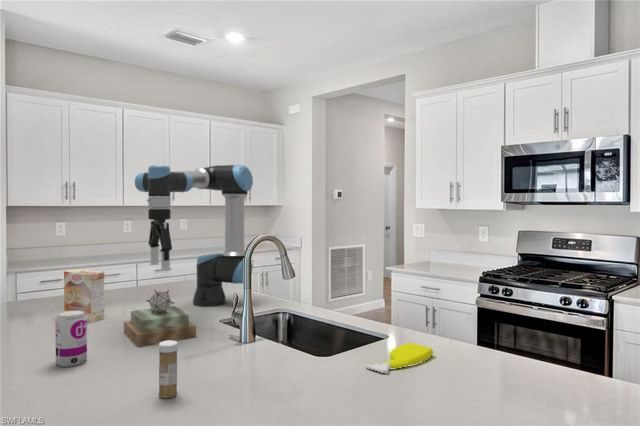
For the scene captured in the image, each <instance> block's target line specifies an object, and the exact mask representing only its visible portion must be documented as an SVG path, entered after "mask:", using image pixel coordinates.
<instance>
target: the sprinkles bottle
mask: <svg viewBox="0 0 640 426" xmlns="http://www.w3.org/2000/svg"><path fill="white" fill-rule="evenodd" d="M178 349H179V346H178V341H177V340H176V341H173V340H167V341H163V342H160V343H158V352H159V365H158V368H159V369H158V387H159V388H158V390H159V391H158V397H160V398H161V399H170V398H174V397H175V396H177V394H178V390H177V389H178V383H177V382H178Z"/></svg>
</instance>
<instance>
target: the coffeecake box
mask: <svg viewBox="0 0 640 426" xmlns="http://www.w3.org/2000/svg"><path fill="white" fill-rule="evenodd" d="M63 286H64V287H63V288H64V289H63V291H64V293H63V296H64V297H63V303H64V308H63V309H64V311H71V310H82V311H84V313H85V315H86V316H87V323H94V321H95V322H97V321H100V320H103V319H105V271H103V270H102V271H99V270H91V269H81V268H80V269H79V268H75V269H71V270H70V269H68V270H64V271H63ZM64 311H63V312H64Z"/></svg>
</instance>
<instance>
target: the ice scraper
mask: <svg viewBox="0 0 640 426" xmlns="http://www.w3.org/2000/svg"><path fill="white" fill-rule="evenodd" d="M432 355H433V356H434V350H433V349H432V347H429V346H425V345H420V344H418V343H413V342H408V343H405V344H401V345H400V346H399V345H398V346H396V347H395V348H393V349H392V350H391V351H390V352H389V357H390V360H388V361H385V362H384V363H381V364H378V363H379V362H378V361H377V362H375V364H365V366H364V367H366V368H365V369H367V368H368V370H369V369H371V370H370V371H372V370H375V371H378V372H377V373H379V372H383V373H388V374H389V371H390V370H389V369H390V368H399V367H404V366H408V365H412V364H416V363H419V362H421V361H424V360H426V359H428V358H429V357H431V356H432ZM433 356H432V357H433ZM432 357H431V358H432ZM428 360H429V359H428ZM388 370H389V371H388ZM375 371H374V372H375Z"/></svg>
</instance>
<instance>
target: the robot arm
mask: <svg viewBox="0 0 640 426" xmlns="http://www.w3.org/2000/svg"><path fill="white" fill-rule="evenodd" d="M147 169H148V171H147V172H146V171H145V172H140V173H138V174H137V175H136V176H135V178H134V185H135V188H136V190H138V192H142V193H143V192H144V193H147V196H148V198H147V199H146V203H148V208H149V209H148V219H149V220H150V229H149V230H150V231H149V238H148V246H149V247H150V265H151V266H155V265H159V264H160V263H161V266H160V267H161V269H160V270H161V271H167V270H171V269H170V268H171V264H170V263H171V261H170V260H171V259H170V258H171V256H170V255H171V254H170V253H171V252H170V251H172V250H173V246H172V240H171V234H170V223H169V222H166V220H170V219H171V199H172V198H171V193H187V192H190V191H191V189H194V188H196V189H197V190H211V191H221V195H222V196H223V197H224V199H225V201H224V215H225V216H224V223H225V224H224V225H225V227H224V229H225V230H224V233H225V234H224V237H225V238H224V241H225V242H224V251H223V252H222V253H218V252H217V253H209V254H202V255H199V256H198V257H197V259H196V288H195V292H194V295H193V297H192V304H193V305H194V306H197V307H216V306H221V305H224V304H226V302H227V300H226V299H227V298H226V297H227V296H226V294H225V291H224V289H223V283H228V284H244V283H243V258H244V253H245V252H246V251H245V198H246V197H247V196H248V192H249V191H250V190H251V189H252V188H253V184H254V180H253V179H254V178H253V175H252V172H251V170H250V169H249V168H248V166H246V165H243V164H241V165H240V164H228V165H227V164H226V165H225V164H223V165H212V166H211V165H210V166H206V167H198V168H196V169H194V170H178V171H171V167H170V166H169V165H164V164H162V165H161V164H159V165H158V164H153V165H150V166H148V168H147ZM159 243H160V244H159ZM160 247H161V249H160V250H159V248H160ZM159 251H160V253H161V254H160V255H161V256H159ZM159 257H161V259H159ZM160 260H161V262H160V263H159V261H160ZM253 267H254V266H253V262H252V263H251V274H252V273H253Z"/></svg>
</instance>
